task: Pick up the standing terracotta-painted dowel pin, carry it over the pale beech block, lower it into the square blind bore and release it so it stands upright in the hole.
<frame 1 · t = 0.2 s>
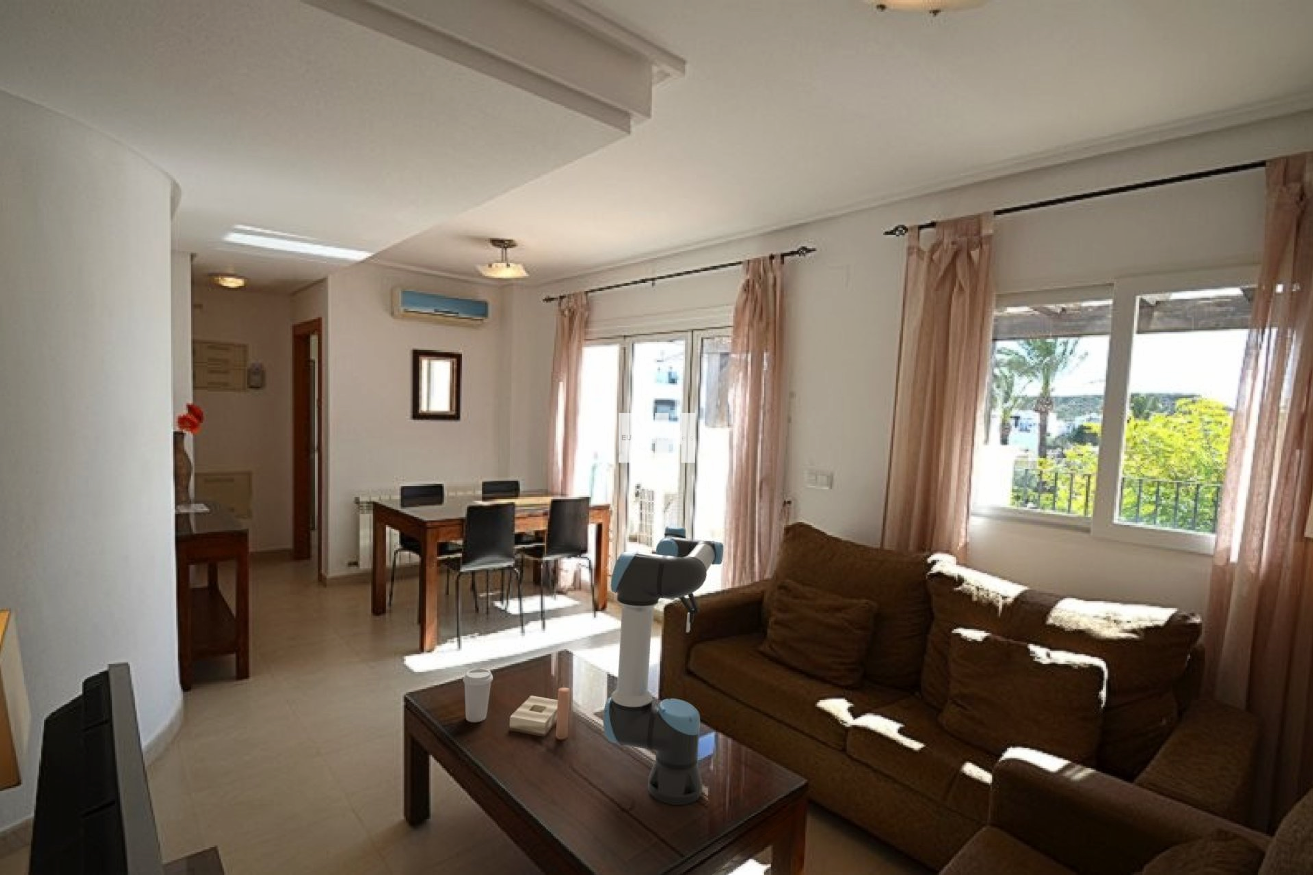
hand: (669, 628, 224), 28 cm above the table, fingers open, 13 cm apart
bore block: (537, 721, 207), on the table
pin: (561, 736, 199), on the table
coffee cup: (476, 717, 208), on the table
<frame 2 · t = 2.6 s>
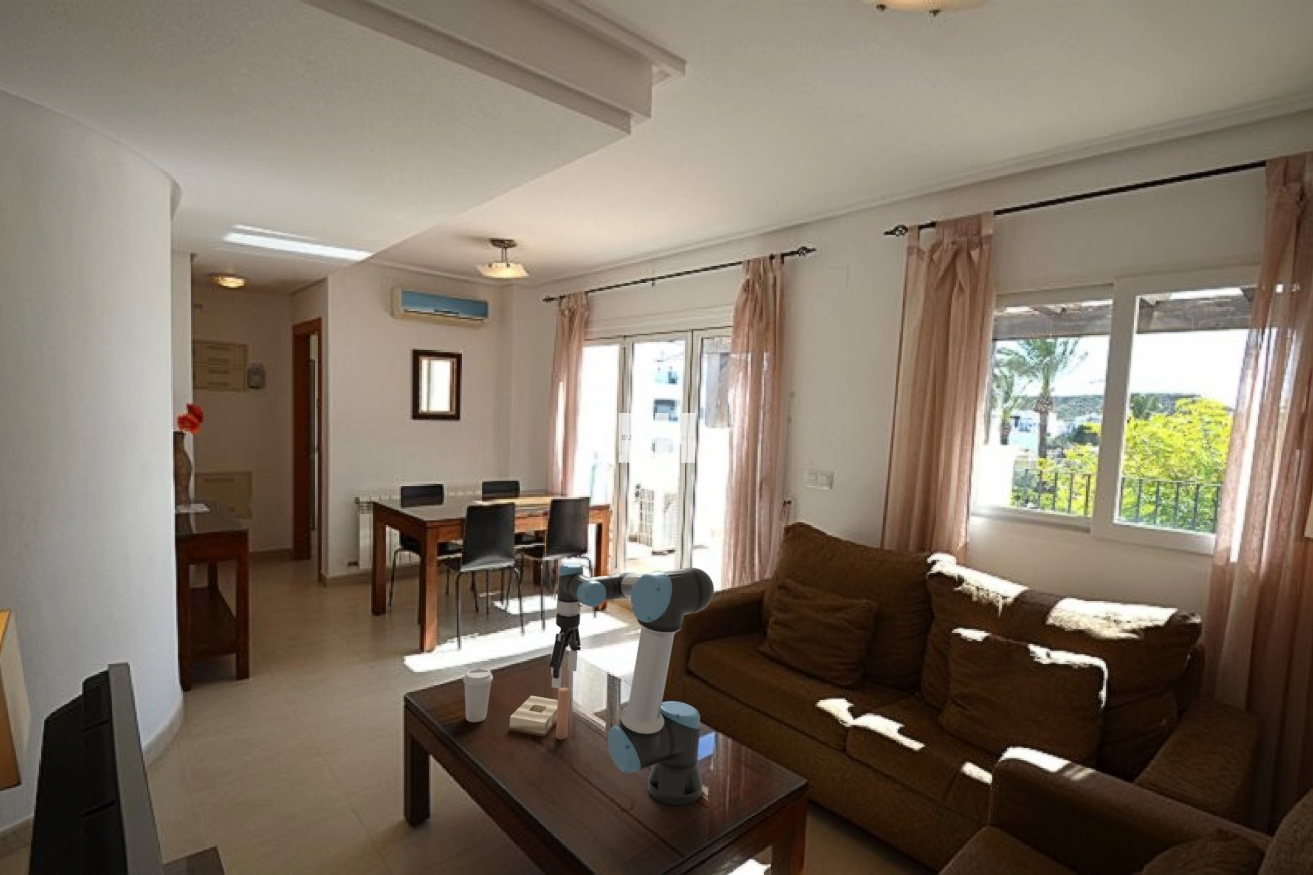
hand: (564, 678, 199), 18 cm above the table, fingers open, 13 cm apart
nothing on the table moved.
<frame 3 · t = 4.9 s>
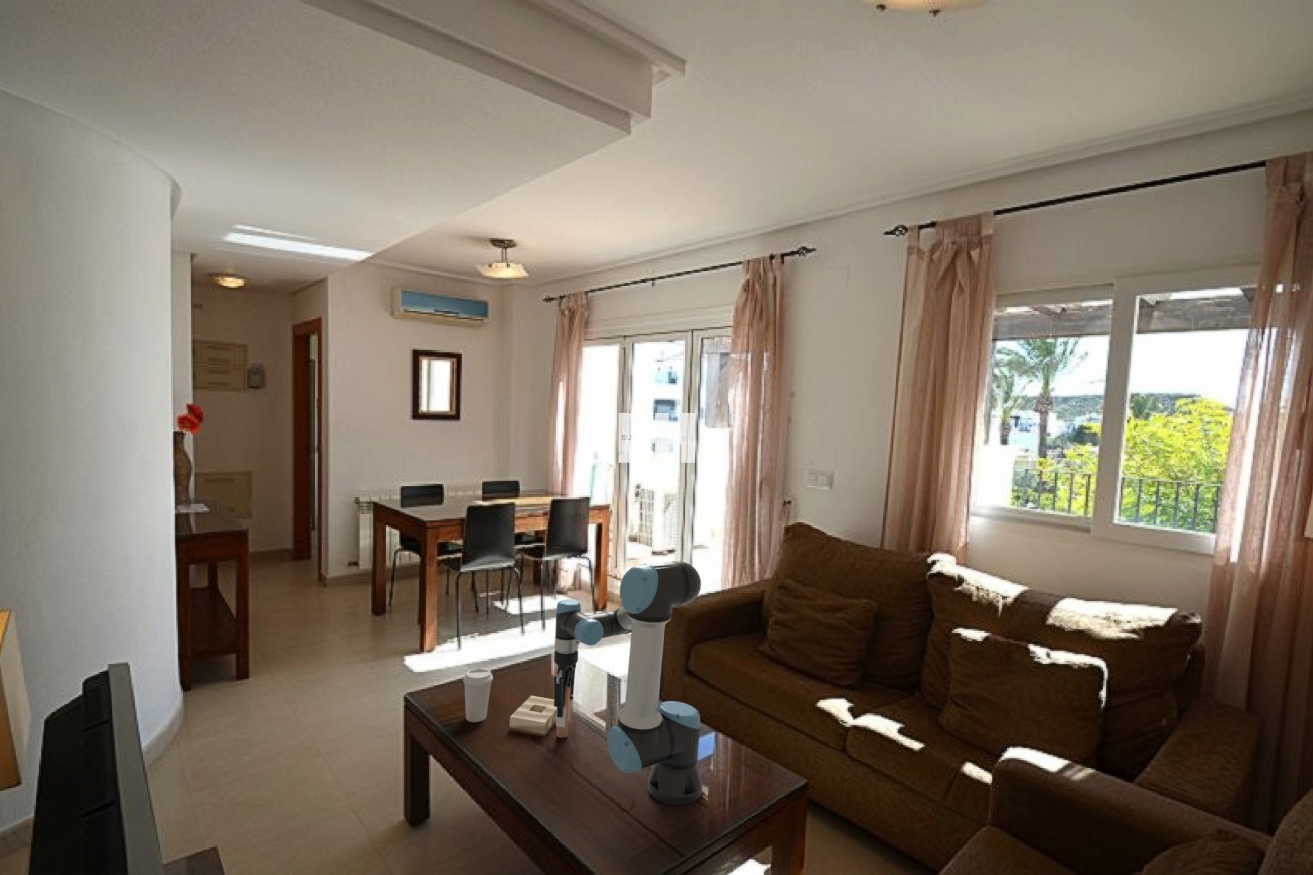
hand: (562, 722, 198), 4 cm above the table, fingers closed on pin, 3 cm apart
pin: (562, 734, 199), point 1 cm above the table, touching gripper
everything else where it was.
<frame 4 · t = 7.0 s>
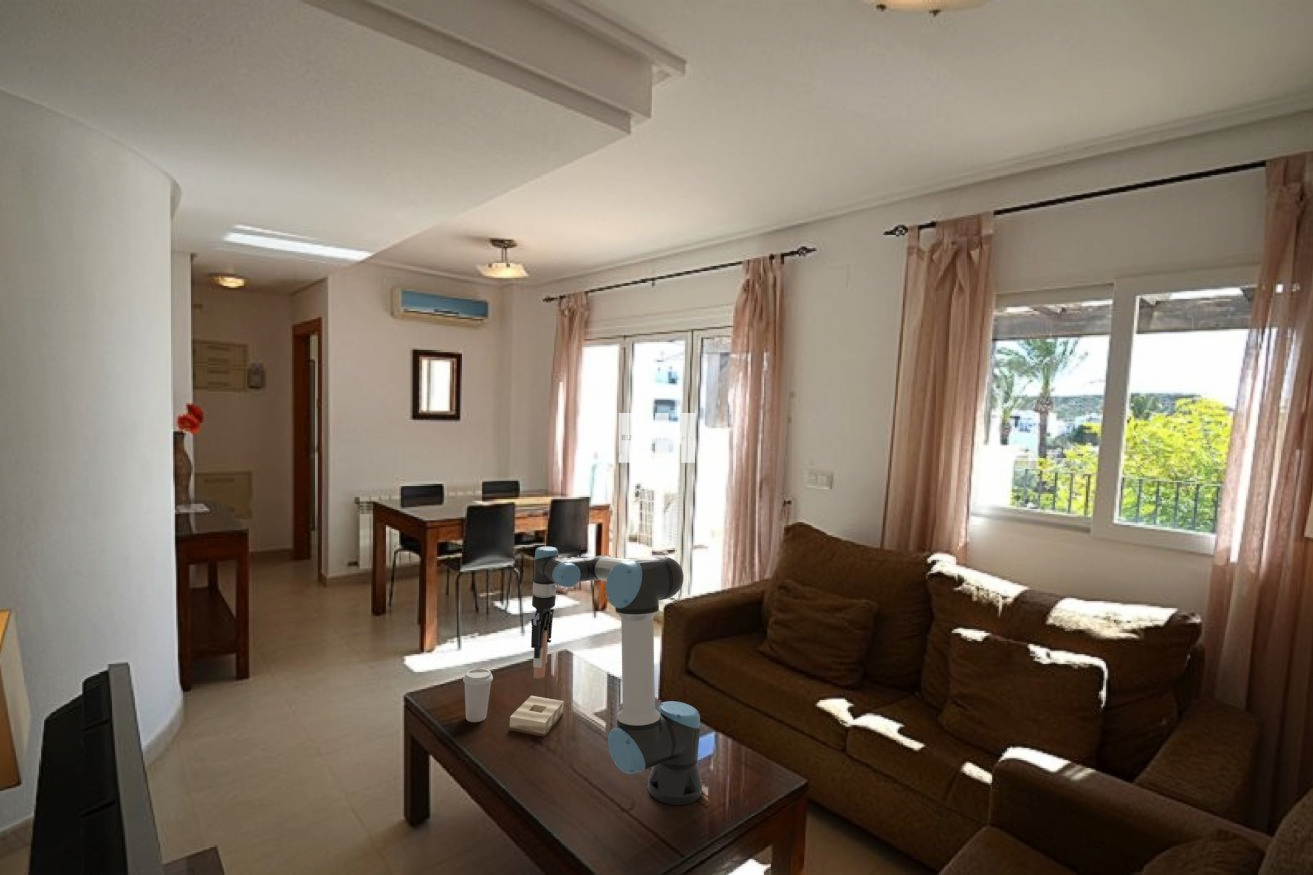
hand: (540, 664, 207), 19 cm above the table, fingers closed on pin, 3 cm apart
pin: (539, 676, 207), point 15 cm above the table, touching gripper
everything else where it was.
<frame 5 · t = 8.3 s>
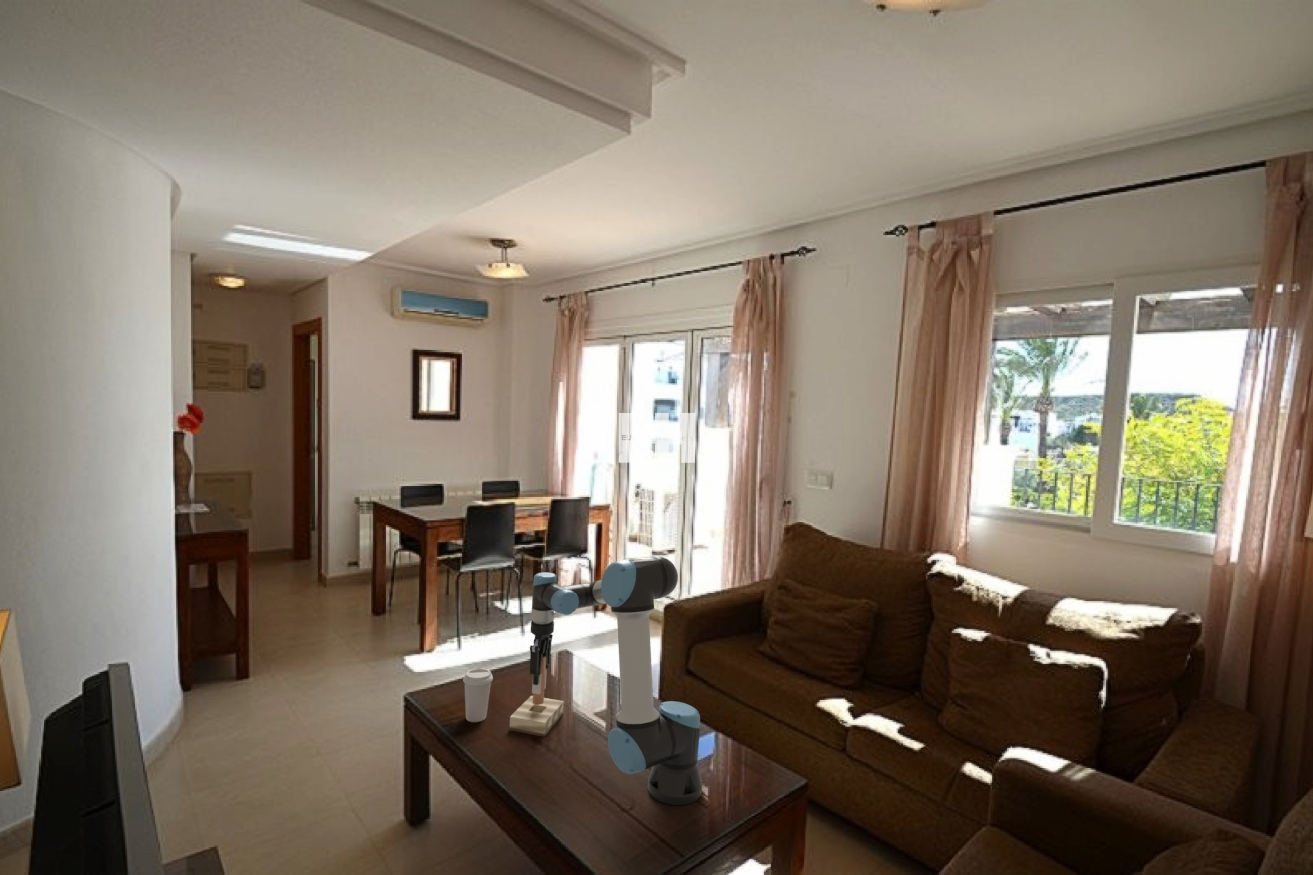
hand: (538, 690, 207), 11 cm above the table, fingers closed on pin, 3 cm apart
pin: (538, 702, 207), point 7 cm above the table, touching gripper
everything else where it was.
when the fingers open (7 cm above the table, at t = 9.4 s): pin drops 1 cm, resting on bore block.
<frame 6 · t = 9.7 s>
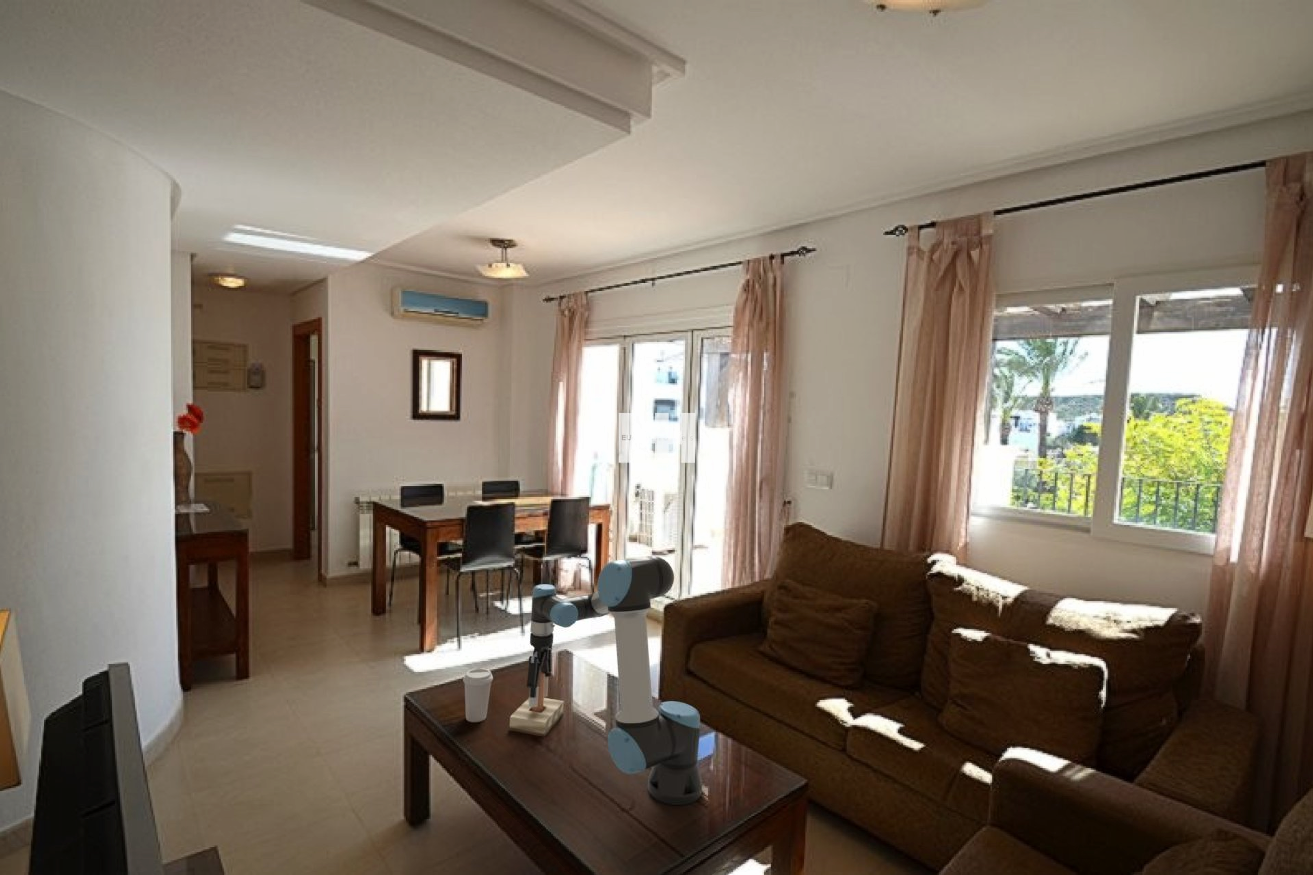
hand: (538, 700, 207), 7 cm above the table, fingers open, 7 cm apart
pin: (537, 718, 207), point 1 cm above the table, touching bore block
everything else where it was.
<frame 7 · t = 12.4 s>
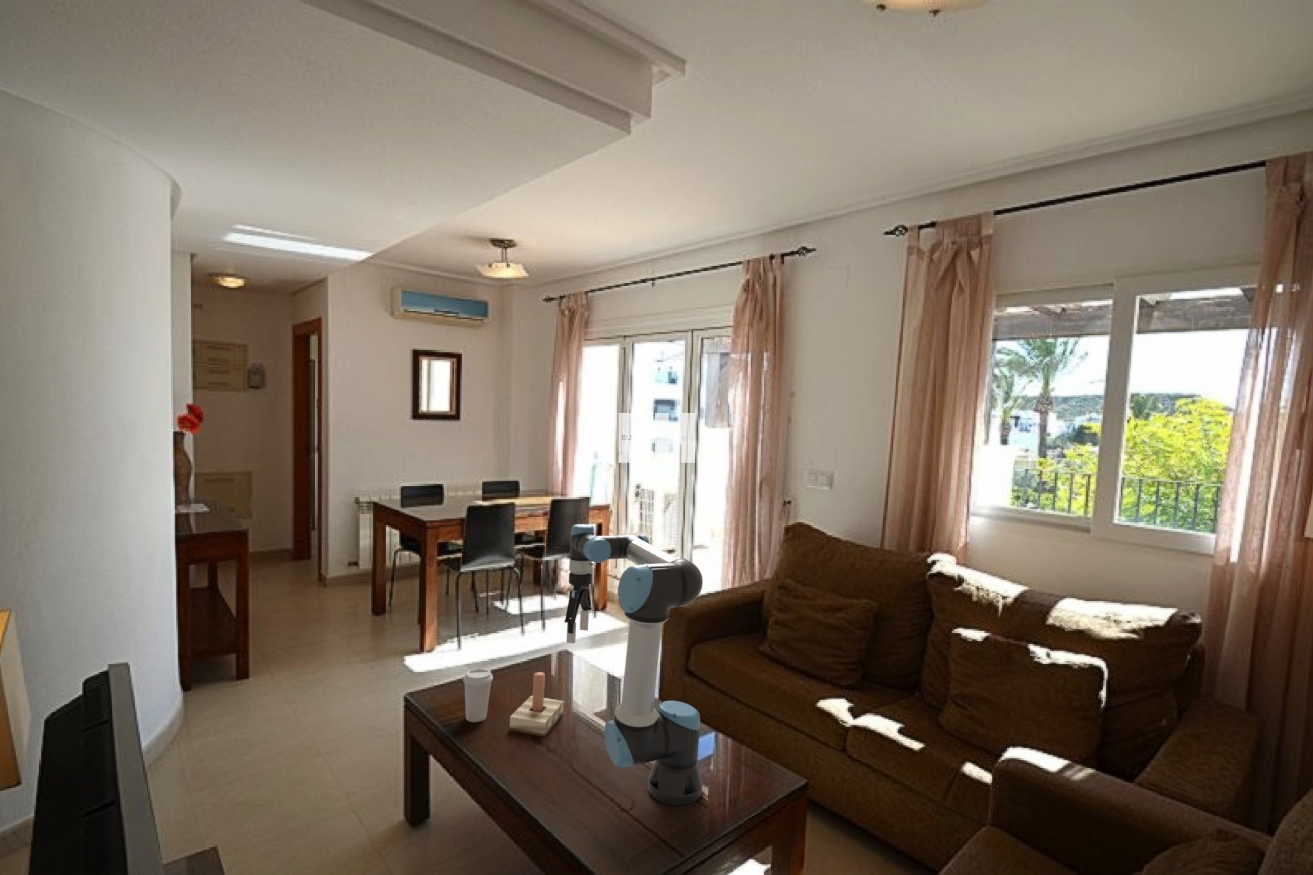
hand: (577, 636, 207), 29 cm above the table, fingers open, 13 cm apart
nothing on the table moved.
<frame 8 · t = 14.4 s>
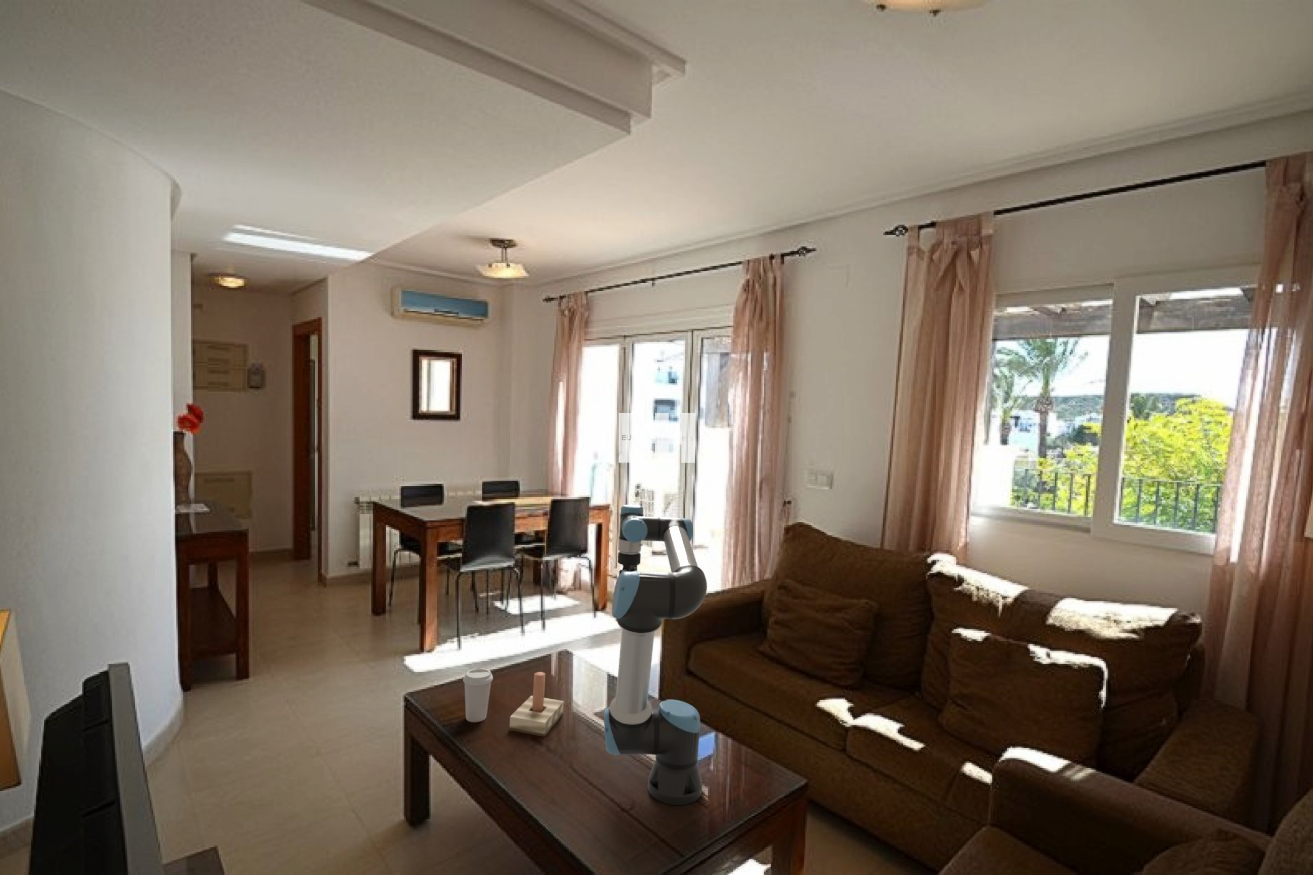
hand: (625, 615, 208), 37 cm above the table, fingers open, 13 cm apart
nothing on the table moved.
at the end: pin 0.0 cm off-centre on the bore block, point 1.0 cm above the bore block's base; pin tilted 0°; the gripper is holding nothing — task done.
